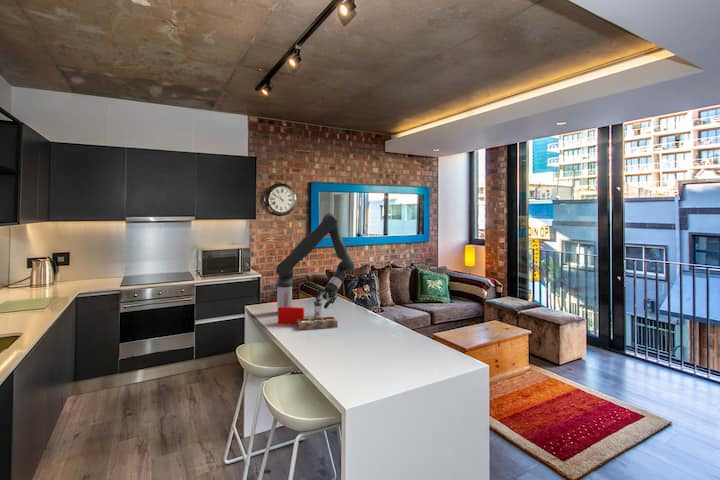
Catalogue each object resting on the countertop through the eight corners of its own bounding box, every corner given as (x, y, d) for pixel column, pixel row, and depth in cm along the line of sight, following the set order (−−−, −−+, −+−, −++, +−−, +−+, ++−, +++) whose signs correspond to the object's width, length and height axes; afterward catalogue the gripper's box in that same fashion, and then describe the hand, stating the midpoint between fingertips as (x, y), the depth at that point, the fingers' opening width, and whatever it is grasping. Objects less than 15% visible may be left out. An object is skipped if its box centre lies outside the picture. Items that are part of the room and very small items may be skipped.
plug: (312, 319, 229) (313, 301, 229) (320, 318, 231) (320, 300, 230) (314, 321, 225) (314, 302, 224) (321, 320, 227) (322, 302, 226)
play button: (304, 324, 219) (304, 307, 218) (302, 326, 216) (302, 308, 216) (279, 323, 221) (279, 306, 220) (277, 324, 218) (277, 307, 217)
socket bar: (299, 330, 207) (299, 322, 207) (296, 324, 216) (296, 317, 216) (337, 327, 214) (337, 320, 214) (333, 322, 223) (333, 315, 223)
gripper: (322, 280, 239) (308, 301, 231) (338, 283, 230) (324, 305, 222) (328, 287, 244) (315, 308, 236) (344, 290, 234) (331, 312, 226)
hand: (319, 306), depth 229 cm, fingers open, 8 cm apart
